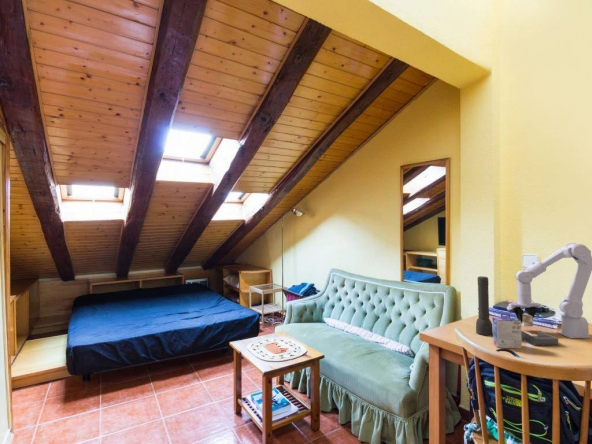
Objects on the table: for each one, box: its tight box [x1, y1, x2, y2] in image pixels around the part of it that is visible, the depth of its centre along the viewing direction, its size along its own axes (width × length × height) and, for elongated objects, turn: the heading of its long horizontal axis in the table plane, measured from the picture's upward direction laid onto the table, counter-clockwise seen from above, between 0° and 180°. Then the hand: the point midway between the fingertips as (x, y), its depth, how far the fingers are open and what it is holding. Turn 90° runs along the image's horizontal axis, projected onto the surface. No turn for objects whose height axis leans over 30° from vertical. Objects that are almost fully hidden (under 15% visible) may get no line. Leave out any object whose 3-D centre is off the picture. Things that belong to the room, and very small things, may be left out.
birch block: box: [521, 313, 534, 327], centre depth 159 cm, size 4×4×5 cm
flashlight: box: [475, 276, 493, 337], centre depth 156 cm, size 7×28×7 cm
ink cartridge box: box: [491, 312, 523, 350], centre depth 140 cm, size 10×6×14 cm, turn 78°
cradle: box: [521, 330, 559, 347], centre depth 145 cm, size 10×10×3 cm
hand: (525, 322), depth 159 cm, fingers closed on birch block, 4 cm apart
